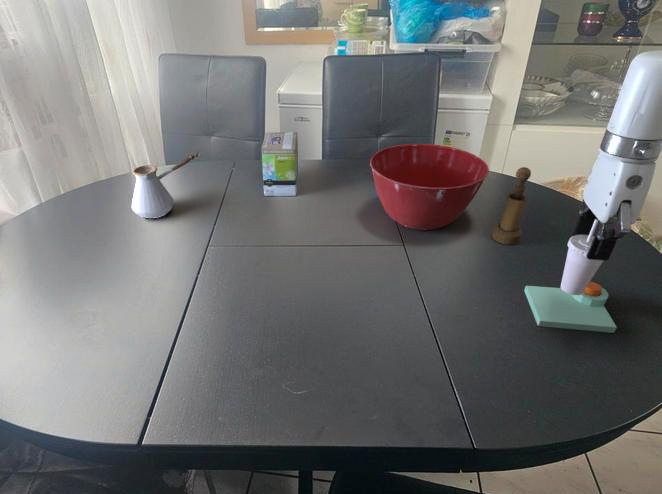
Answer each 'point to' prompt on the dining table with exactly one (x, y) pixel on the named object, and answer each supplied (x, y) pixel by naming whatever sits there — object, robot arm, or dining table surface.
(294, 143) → the tea box
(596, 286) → the button
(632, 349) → the dining table surface
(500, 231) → the mortar and pestle
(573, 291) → the smoothie
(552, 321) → the mint green button board
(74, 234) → the dining table surface
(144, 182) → the coffee pot
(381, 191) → the mixing bowl
